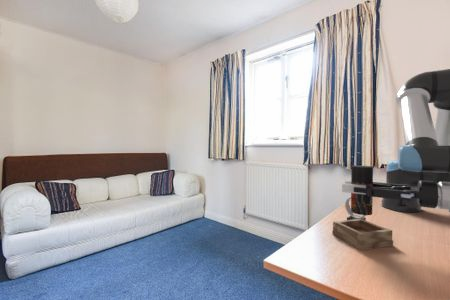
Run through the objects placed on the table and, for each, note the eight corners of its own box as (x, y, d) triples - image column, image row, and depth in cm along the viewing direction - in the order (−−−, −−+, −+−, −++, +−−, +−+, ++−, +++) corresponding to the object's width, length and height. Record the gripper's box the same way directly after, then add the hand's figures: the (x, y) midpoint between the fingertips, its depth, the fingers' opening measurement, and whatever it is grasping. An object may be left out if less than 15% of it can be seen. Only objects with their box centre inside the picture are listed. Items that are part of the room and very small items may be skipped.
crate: (360, 230, 81) (360, 218, 81) (393, 245, 70) (393, 230, 70) (332, 234, 78) (332, 221, 78) (361, 250, 67) (361, 235, 67)
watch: (364, 230, 82) (364, 200, 81) (342, 224, 88) (342, 196, 88) (371, 227, 85) (371, 198, 84) (349, 221, 91) (349, 194, 91)
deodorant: (372, 216, 69) (373, 167, 69) (350, 213, 73) (350, 166, 72) (372, 211, 74) (372, 166, 74) (351, 208, 78) (351, 165, 77)
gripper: (443, 217, 55) (338, 203, 69) (431, 201, 71) (347, 192, 84) (444, 186, 55) (339, 178, 68) (431, 177, 70) (347, 172, 84)
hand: (343, 186), depth 76 cm, fingers closed on deodorant, 6 cm apart
